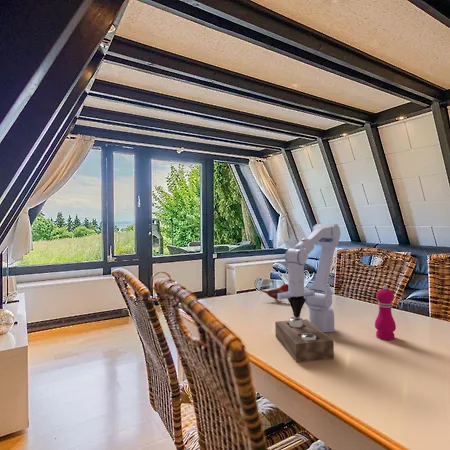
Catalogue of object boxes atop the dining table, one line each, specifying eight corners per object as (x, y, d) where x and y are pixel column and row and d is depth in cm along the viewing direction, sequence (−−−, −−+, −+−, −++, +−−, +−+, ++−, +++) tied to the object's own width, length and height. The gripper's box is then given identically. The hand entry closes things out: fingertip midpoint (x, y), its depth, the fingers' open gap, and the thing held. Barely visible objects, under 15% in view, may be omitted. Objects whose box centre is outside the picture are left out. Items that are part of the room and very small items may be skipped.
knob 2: (312, 349, 115) (312, 332, 115) (318, 355, 110) (318, 337, 110) (299, 350, 114) (298, 333, 114) (304, 356, 109) (304, 338, 109)
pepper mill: (370, 335, 127) (370, 284, 126) (384, 332, 130) (384, 282, 129) (385, 342, 120) (385, 288, 120) (400, 339, 123) (400, 286, 122)
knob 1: (299, 331, 127) (299, 316, 127) (305, 336, 122) (304, 320, 122) (287, 332, 126) (287, 317, 126) (292, 337, 121) (291, 321, 121)
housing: (307, 334, 130) (307, 319, 130) (333, 358, 108) (333, 340, 108) (275, 336, 128) (275, 321, 128) (296, 362, 106) (295, 343, 106)
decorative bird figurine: (291, 303, 174) (290, 284, 173) (258, 301, 179) (257, 283, 179) (291, 302, 176) (291, 283, 176) (259, 300, 182) (258, 282, 181)
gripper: (308, 277, 128) (308, 311, 129) (273, 280, 124) (274, 315, 125) (317, 280, 121) (318, 316, 122) (281, 283, 118) (282, 321, 118)
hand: (296, 316), depth 123 cm, fingers closed
